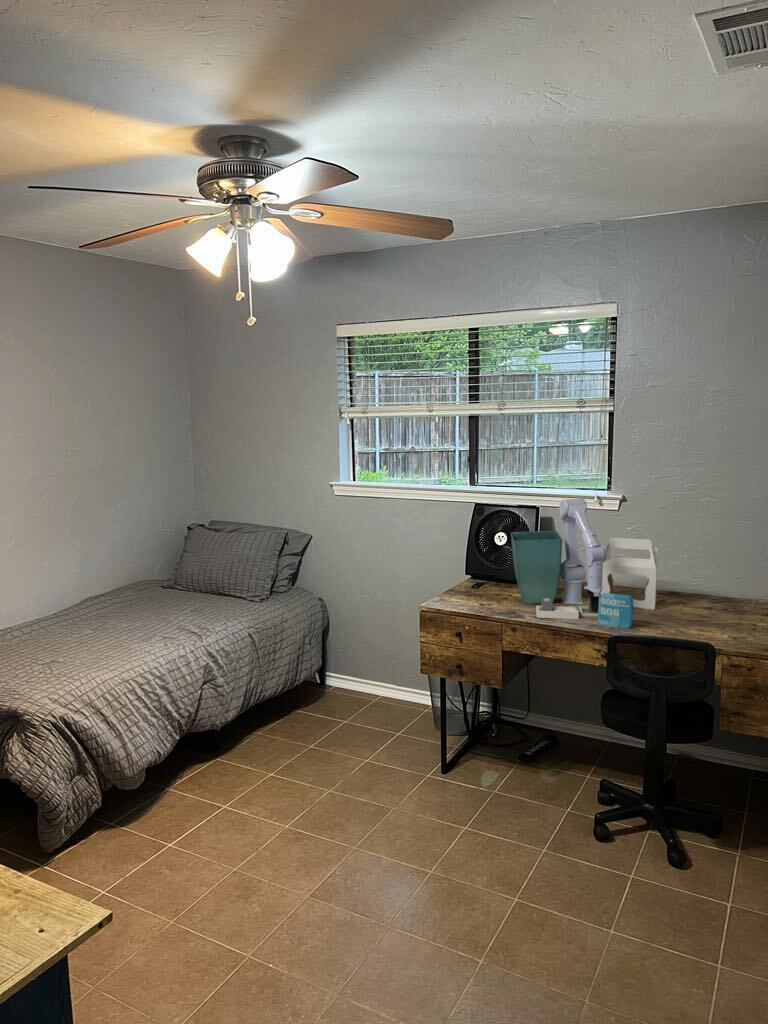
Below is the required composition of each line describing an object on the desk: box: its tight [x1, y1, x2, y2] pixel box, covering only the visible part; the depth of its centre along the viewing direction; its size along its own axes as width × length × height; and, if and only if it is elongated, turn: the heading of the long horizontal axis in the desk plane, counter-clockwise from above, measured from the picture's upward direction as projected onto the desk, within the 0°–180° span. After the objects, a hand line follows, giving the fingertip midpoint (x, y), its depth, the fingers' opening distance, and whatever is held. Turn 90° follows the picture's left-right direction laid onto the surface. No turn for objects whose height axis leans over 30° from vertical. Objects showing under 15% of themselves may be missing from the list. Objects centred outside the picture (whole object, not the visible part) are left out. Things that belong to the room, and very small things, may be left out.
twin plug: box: [540, 598, 553, 611], centre depth 300 cm, size 4×4×6 cm
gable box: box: [600, 536, 659, 611], centre depth 316 cm, size 22×13×28 cm, turn 69°
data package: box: [597, 593, 634, 630], centre depth 286 cm, size 12×4×12 cm, turn 63°
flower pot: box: [510, 530, 563, 604], centre depth 321 cm, size 20×20×28 cm
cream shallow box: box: [535, 605, 580, 620], centre depth 300 cm, size 8×16×4 cm, turn 81°
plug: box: [587, 597, 599, 613], centre depth 303 cm, size 4×4×6 cm
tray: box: [577, 605, 598, 617], centre depth 304 cm, size 11×11×1 cm
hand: (593, 609), depth 304 cm, fingers closed on plug, 4 cm apart
